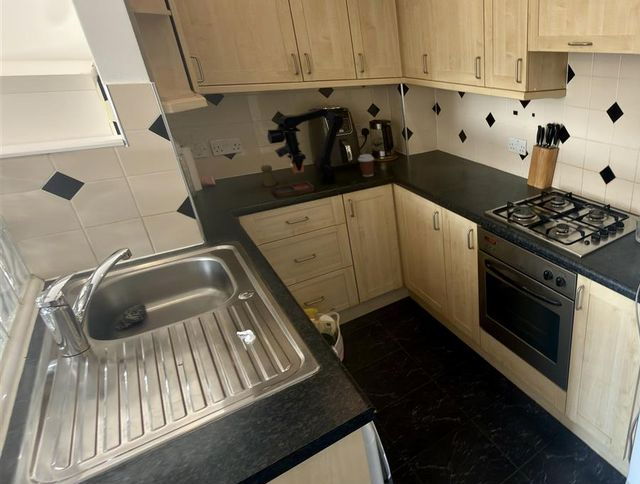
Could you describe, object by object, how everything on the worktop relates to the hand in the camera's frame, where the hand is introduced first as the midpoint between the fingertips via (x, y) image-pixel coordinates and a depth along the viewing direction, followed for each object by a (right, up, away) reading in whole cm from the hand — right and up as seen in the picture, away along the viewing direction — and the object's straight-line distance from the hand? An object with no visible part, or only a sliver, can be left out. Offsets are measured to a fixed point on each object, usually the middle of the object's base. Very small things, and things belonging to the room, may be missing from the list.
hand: (297, 169), depth 218 cm
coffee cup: (+28, 0, +29) cm, 40 cm away
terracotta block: (0, -1, 0) cm, 1 cm away
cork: (-21, -7, +10) cm, 24 cm away
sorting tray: (-2, -12, 0) cm, 12 cm away
